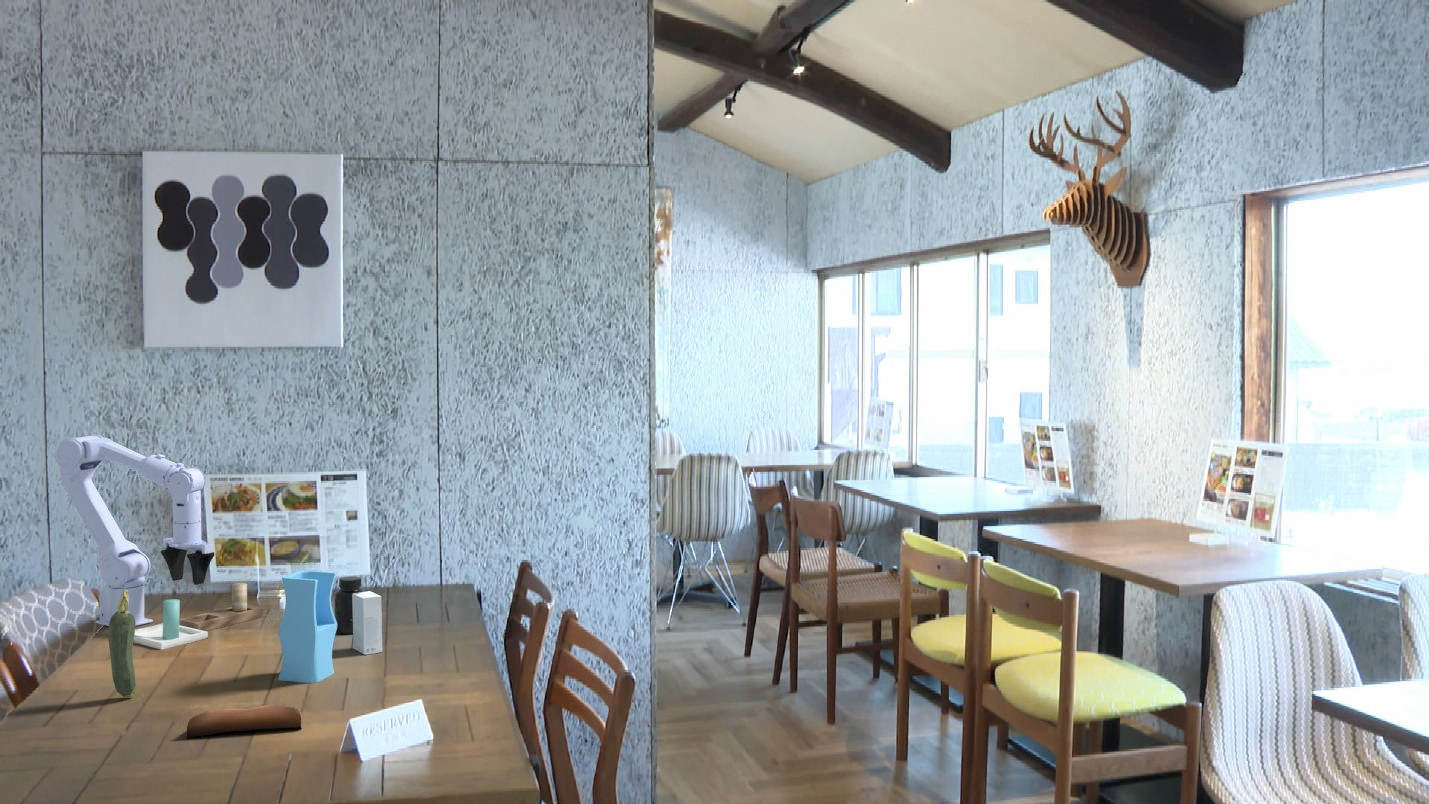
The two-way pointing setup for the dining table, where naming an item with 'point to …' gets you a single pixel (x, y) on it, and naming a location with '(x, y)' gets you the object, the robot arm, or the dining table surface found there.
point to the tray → (154, 639)
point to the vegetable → (122, 647)
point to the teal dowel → (171, 619)
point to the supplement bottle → (345, 603)
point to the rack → (222, 618)
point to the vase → (307, 627)
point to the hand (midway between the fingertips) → (188, 581)
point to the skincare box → (367, 622)
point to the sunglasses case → (243, 720)
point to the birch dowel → (239, 597)
